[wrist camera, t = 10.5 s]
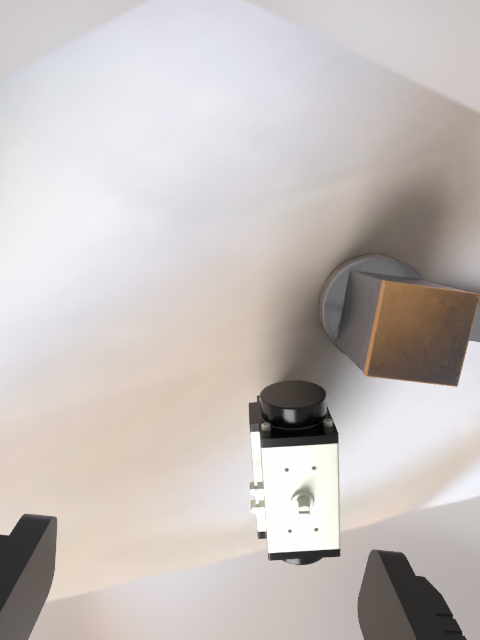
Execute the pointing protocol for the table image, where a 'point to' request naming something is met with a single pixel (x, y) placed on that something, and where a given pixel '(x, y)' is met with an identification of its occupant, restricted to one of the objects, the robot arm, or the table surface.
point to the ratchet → (372, 263)
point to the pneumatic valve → (295, 472)
